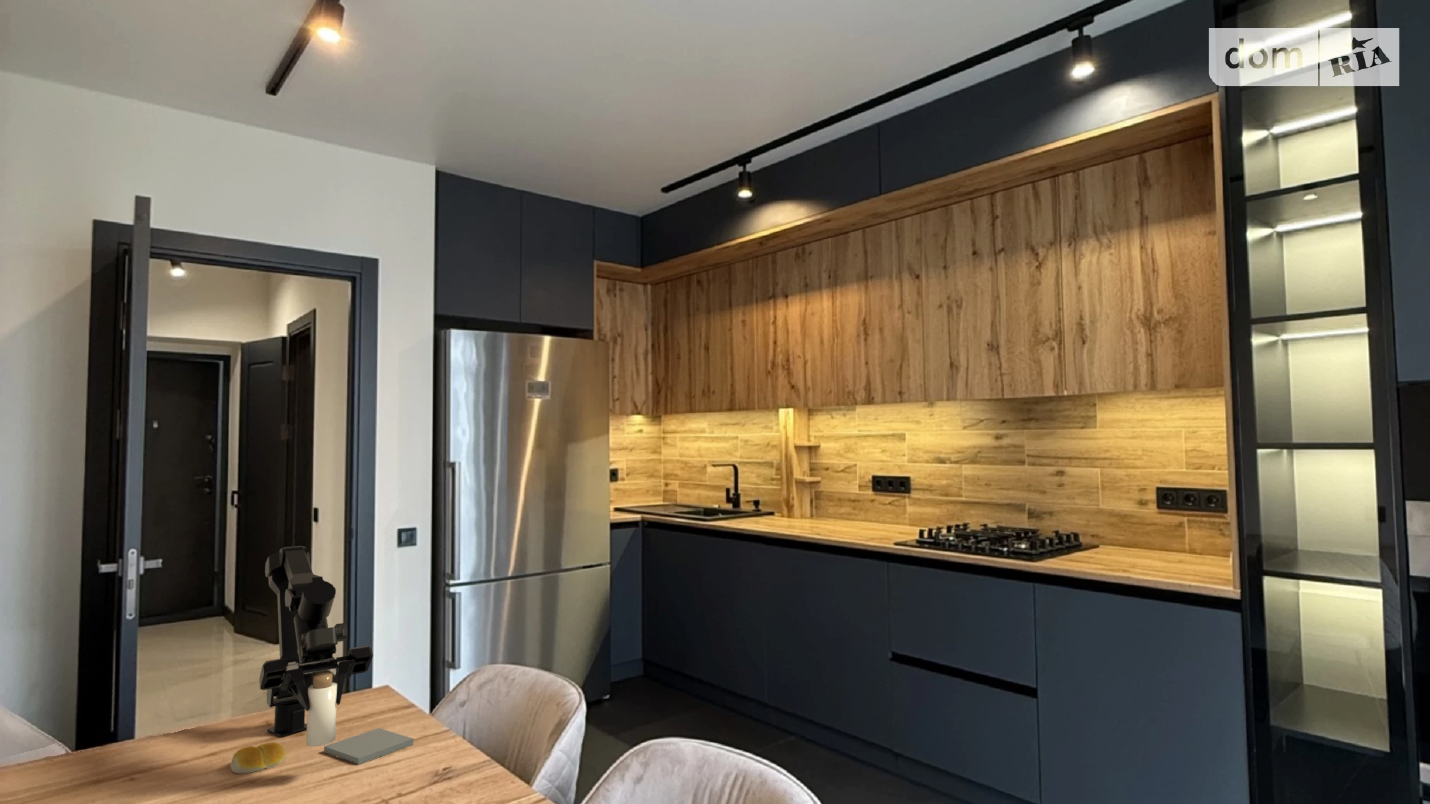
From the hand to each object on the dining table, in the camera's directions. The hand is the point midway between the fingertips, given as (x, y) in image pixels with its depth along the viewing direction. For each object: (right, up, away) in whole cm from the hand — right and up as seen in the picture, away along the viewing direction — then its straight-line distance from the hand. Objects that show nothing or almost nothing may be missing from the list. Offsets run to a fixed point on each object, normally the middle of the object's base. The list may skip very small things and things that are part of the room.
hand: (323, 706), depth 138 cm
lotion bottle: (-1, -7, +1) cm, 7 cm away
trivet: (+2, -14, +14) cm, 20 cm away
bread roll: (-16, -14, +6) cm, 22 cm away
